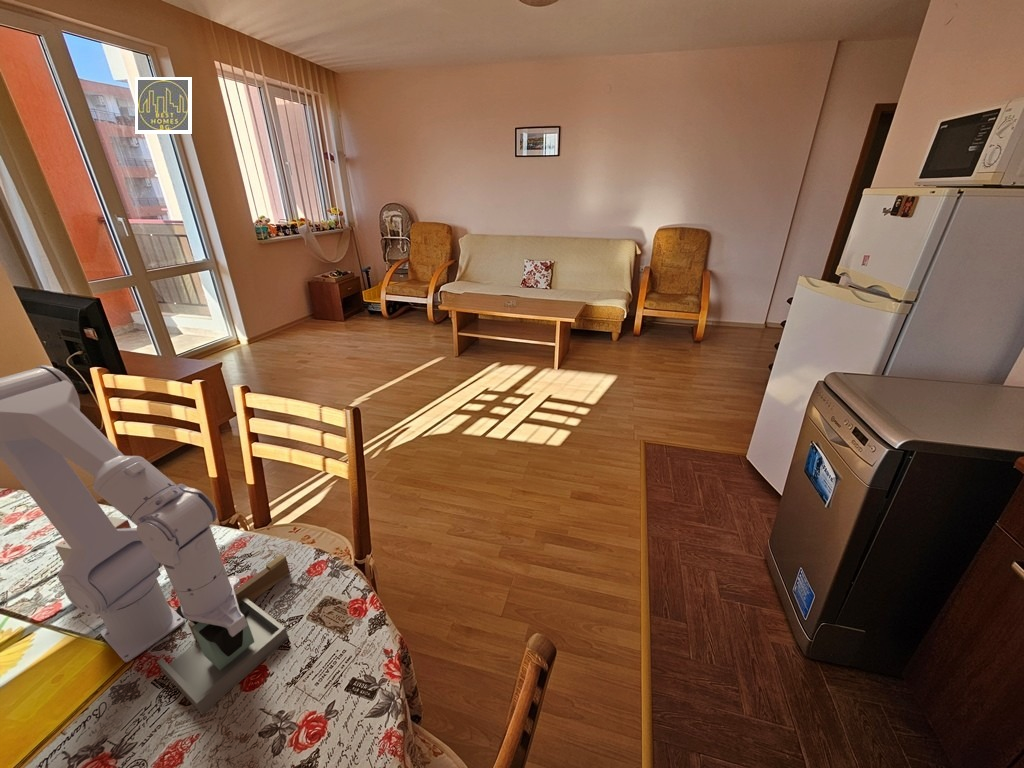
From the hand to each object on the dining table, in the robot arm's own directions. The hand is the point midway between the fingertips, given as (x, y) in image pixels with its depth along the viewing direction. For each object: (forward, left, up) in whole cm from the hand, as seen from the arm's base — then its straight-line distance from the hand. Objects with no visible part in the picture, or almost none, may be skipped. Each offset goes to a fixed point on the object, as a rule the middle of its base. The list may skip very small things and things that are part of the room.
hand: (225, 641), depth 62 cm
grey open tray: (-1, 0, -4) cm, 4 cm away
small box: (-34, -2, -4) cm, 35 cm away
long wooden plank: (-7, +7, -3) cm, 10 cm away
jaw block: (0, 0, -2) cm, 2 cm away
